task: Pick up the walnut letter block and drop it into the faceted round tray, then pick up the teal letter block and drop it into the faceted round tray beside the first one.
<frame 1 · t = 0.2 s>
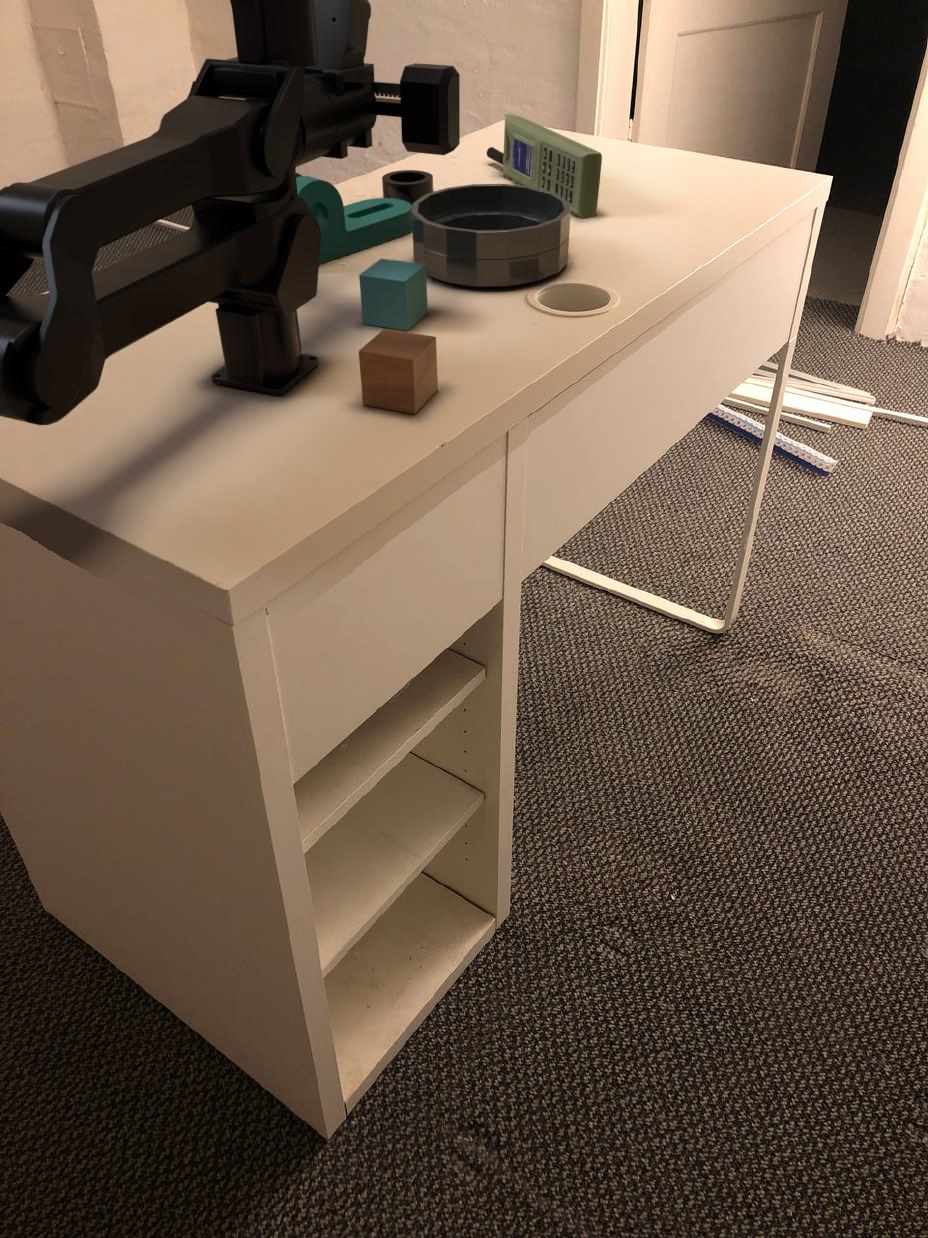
hand: (397, 86, 88), 16 cm above the table, tool horizontal, fingers open, 9 cm apart
walnut block: (400, 397, 77), on the table
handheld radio: (536, 189, 119), on the table
bracket: (343, 243, 105), on the table
teal block: (395, 318, 89), on the table
duct tape: (408, 205, 115), on the table
faceted round tray: (490, 263, 99), on the table
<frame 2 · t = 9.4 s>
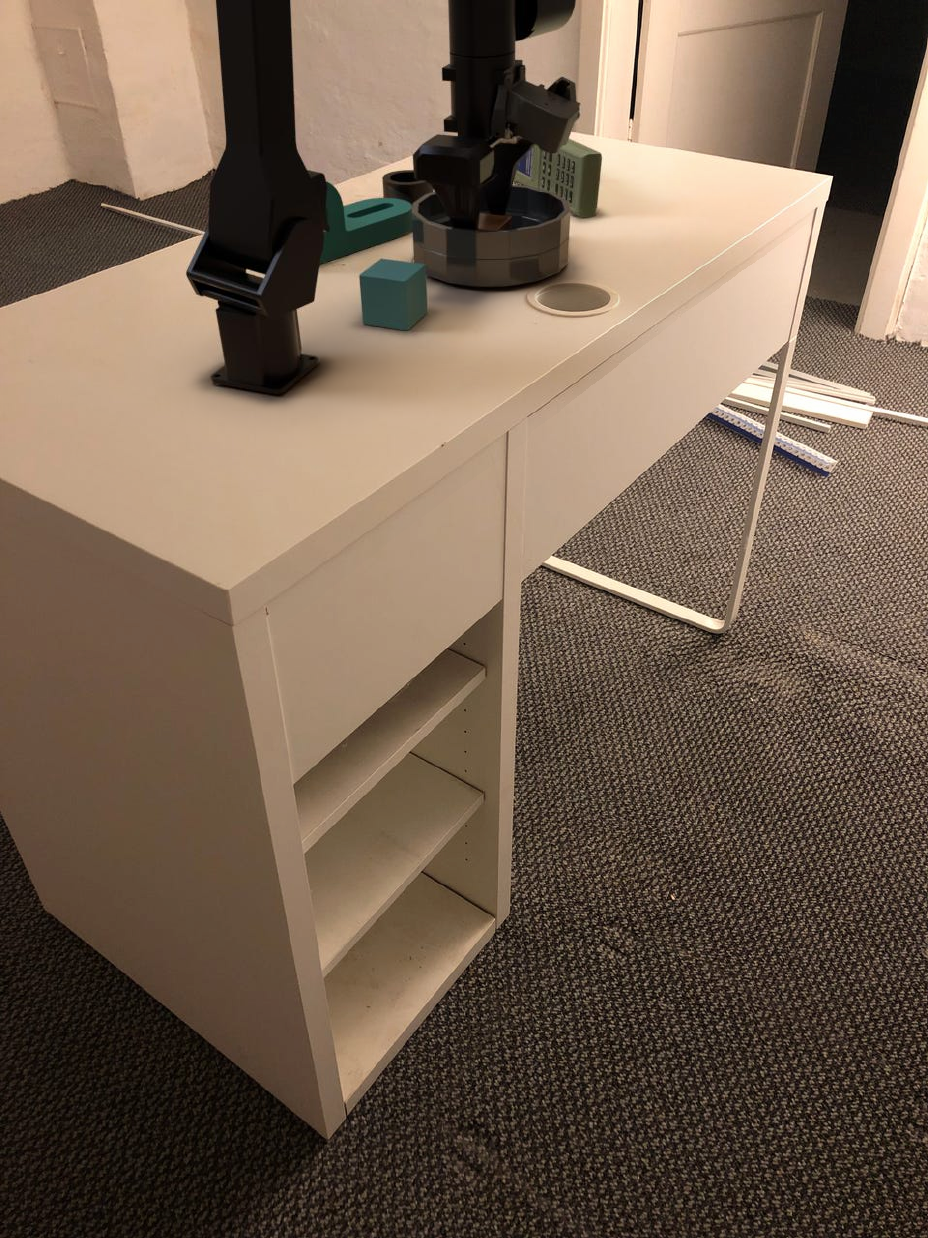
hand: (484, 233, 96), 3 cm above the table, tool pointing down, fingers open, 7 cm apart
walnut block: (482, 266, 97), resting on faceted round tray
everything else where it was.
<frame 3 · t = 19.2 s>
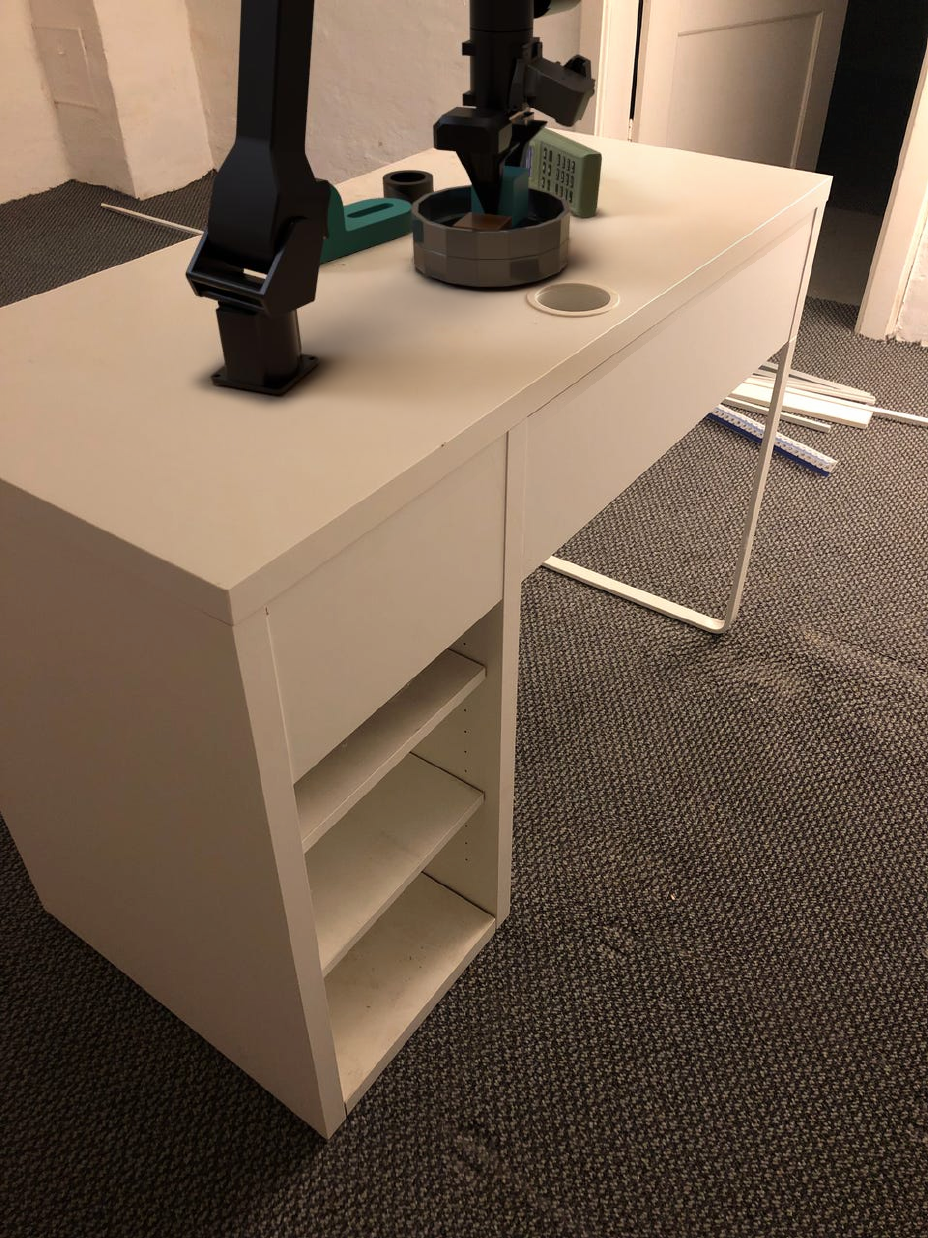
hand: (499, 208, 98), 5 cm above the table, tool pointing down, fingers closed on teal block, 4 cm apart
teal block: (500, 218, 99), point 4 cm above the table, touching gripper
everything else where it was.
when the fingers open (7 cm above the table, at t = 27.8 s): teal block drops 5 cm, resting on faceted round tray.
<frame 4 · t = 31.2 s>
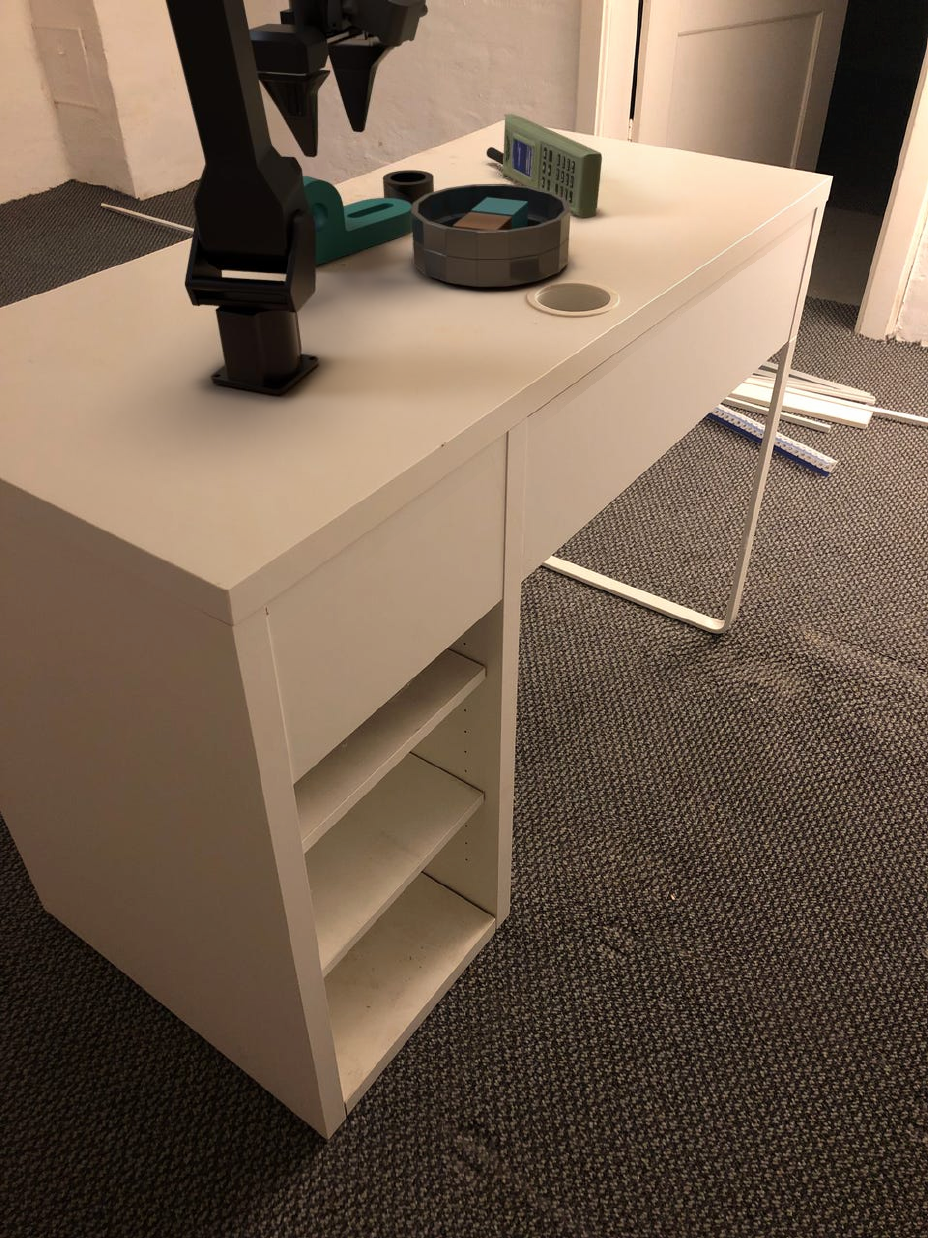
hand: (335, 143, 90), 12 cm above the table, tool pointing down, fingers open, 9 cm apart
teal block: (499, 250, 101), resting on faceted round tray
everything else where it was.
at the end: walnut block inside the target area in the faceted round tray (2.5 cm from its centre), point 0.5 cm above the faceted round tray's base; teal block inside the target area in the faceted round tray (2.5 cm from its centre), point 0.5 cm above the faceted round tray's base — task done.
